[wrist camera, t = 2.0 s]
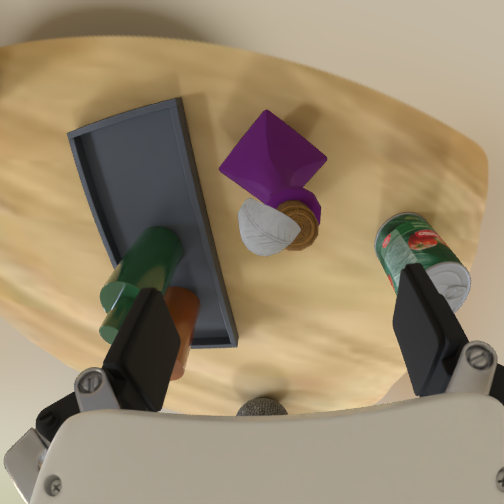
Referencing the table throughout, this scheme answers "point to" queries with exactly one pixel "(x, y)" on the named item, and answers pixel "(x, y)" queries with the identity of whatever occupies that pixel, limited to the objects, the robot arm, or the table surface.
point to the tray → (155, 202)
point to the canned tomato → (421, 256)
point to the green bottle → (139, 275)
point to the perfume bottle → (275, 186)
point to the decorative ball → (262, 408)
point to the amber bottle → (182, 323)
